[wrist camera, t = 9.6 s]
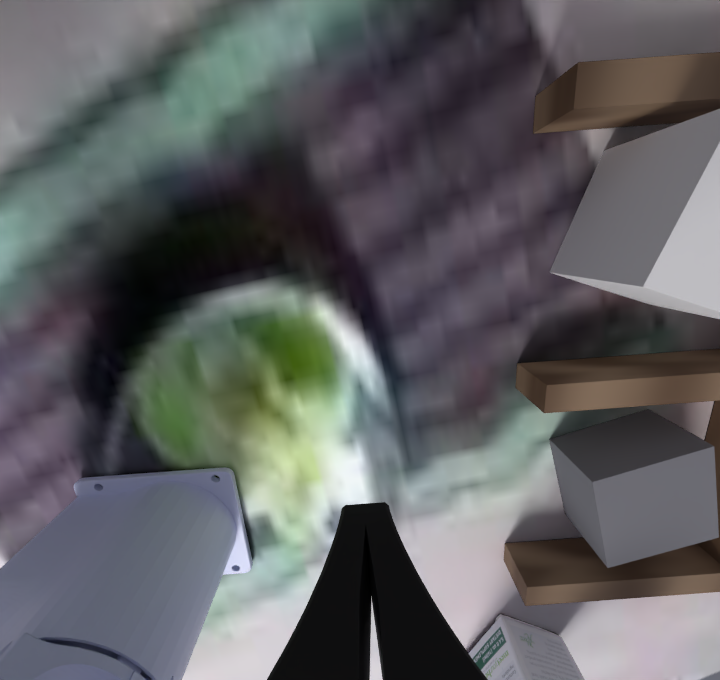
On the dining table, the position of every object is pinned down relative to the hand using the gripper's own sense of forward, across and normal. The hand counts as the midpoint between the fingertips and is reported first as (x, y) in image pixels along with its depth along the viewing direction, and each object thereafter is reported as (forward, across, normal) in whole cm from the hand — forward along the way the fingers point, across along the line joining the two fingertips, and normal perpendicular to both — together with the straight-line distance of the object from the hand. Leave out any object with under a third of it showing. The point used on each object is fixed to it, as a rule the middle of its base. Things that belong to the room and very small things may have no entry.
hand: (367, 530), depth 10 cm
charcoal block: (+10, -15, +6) cm, 19 cm away
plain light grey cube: (+10, -14, -8) cm, 19 cm away
